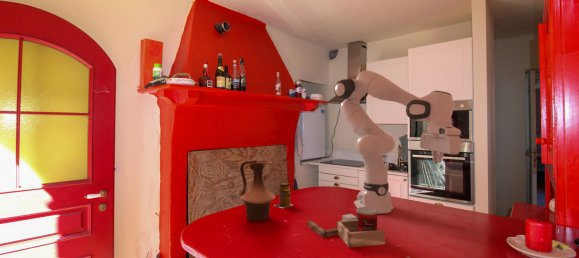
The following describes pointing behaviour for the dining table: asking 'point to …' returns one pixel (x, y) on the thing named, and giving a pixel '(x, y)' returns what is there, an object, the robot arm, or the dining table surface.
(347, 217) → the block
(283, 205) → the condiment
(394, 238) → the dining table surface
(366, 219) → the canned food
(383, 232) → the cubby
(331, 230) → the crook tool
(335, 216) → the dining table surface
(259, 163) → the pitcher
